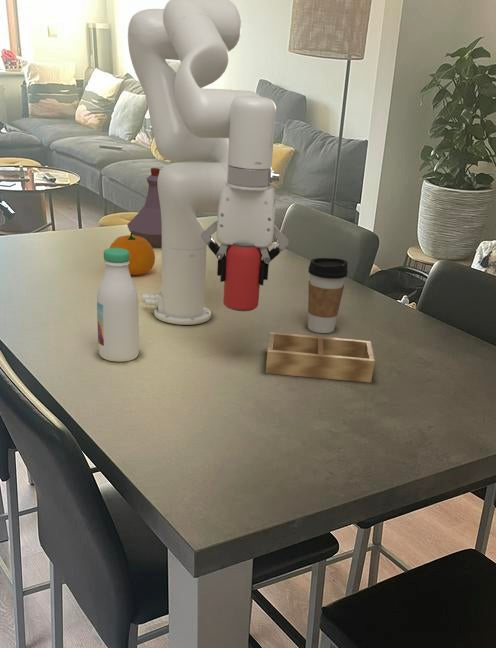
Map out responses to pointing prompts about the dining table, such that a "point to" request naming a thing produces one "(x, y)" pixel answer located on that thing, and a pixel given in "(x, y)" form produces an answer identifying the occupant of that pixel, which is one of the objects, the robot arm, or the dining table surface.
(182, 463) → the dining table surface
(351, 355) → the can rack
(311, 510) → the dining table surface
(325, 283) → the coffee cup
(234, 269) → the beer can
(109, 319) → the milk bottle
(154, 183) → the flask
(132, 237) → the fruit
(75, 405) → the dining table surface
